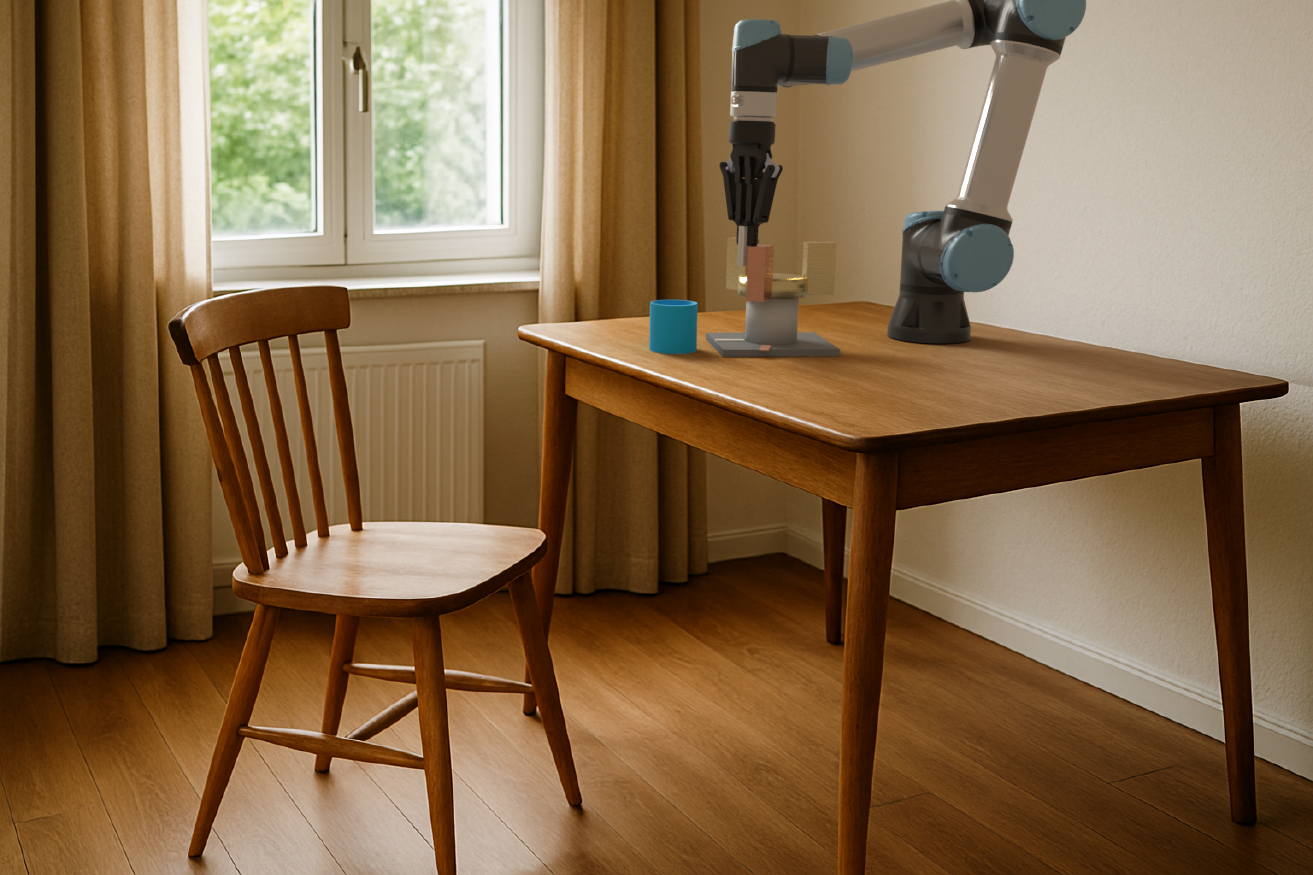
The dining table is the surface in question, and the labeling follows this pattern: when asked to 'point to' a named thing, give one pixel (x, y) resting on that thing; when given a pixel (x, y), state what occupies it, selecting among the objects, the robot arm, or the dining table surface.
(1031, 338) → the dining table surface
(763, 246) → the three-blade desk fan
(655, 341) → the mug
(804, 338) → the post base
